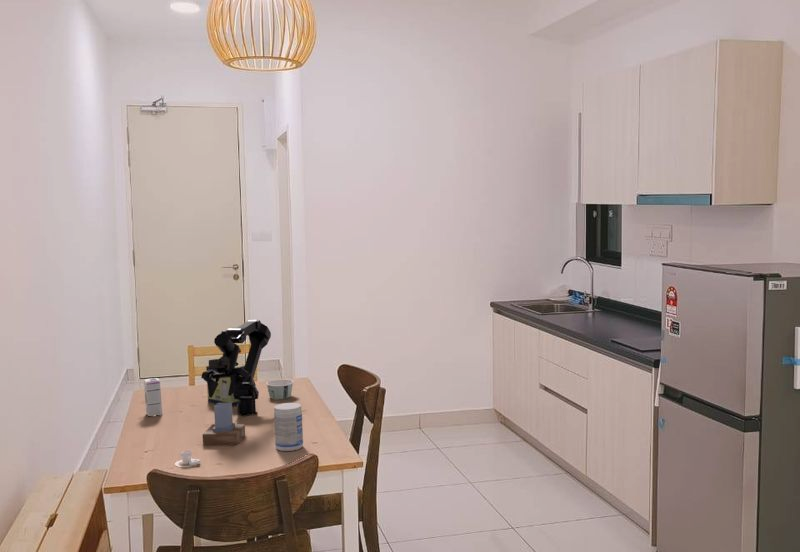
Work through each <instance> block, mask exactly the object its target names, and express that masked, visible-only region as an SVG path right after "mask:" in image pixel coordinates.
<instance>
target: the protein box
mask: <svg viewBox="0 0 800 552" xmlns="http://www.w3.org/2000/svg"><path fill="white" fill-rule="evenodd" d="M244 366H245V364H244V365H243V364H238V366H235V368H239V367H241V368H243V369H244ZM205 367H206V371H213V372H214V373H218V371H217V372H216V371H215V369H213V368H211V369H209V365H207V366H205ZM217 383H218V386H217V388H216V390H215V392H214V394H213V396H212V398H210V397H209V392H208V384H207V383H206V387H207V389H206V390H207V402H209V403H213V404H217V403H232V407H233V406H237V403H238V399H234V395H233V394H232V395H231V396H229V395H228V393H229V387H230V383H231V378H230V377H228V378H220V379H219V381H218V382H217Z"/></svg>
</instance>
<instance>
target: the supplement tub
mask: <svg viewBox="0 0 800 552" xmlns="http://www.w3.org/2000/svg"><path fill="white" fill-rule="evenodd" d="M273 417H274V418H273V422H274V437H275V438H274V442H275V444H274V447H275V448H276V450H278V451H281V452H292V451H297V450H300V449H302V447H303V446H304V437H303V436H304V432H303V409H302V404H300V403H297V402H283V403H279V404H278V403H277V404H276V405H274V407H273Z"/></svg>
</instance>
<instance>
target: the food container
mask: <svg viewBox="0 0 800 552" xmlns="http://www.w3.org/2000/svg"><path fill="white" fill-rule="evenodd" d="M293 384H294V380H292V379H286V378H285V379H283V378H282V379H281V378H280V379H279V378H278V379H273V380H269V381H267V382H266V383H265V385H266V386H267V392H268V395H269V396H268V397H269V399H270V398H272V399H271V400H274V399H282V400H285V399H284V398H288V397H290V396H292V391H293ZM290 398H291V397H290ZM288 399H289V398H288Z"/></svg>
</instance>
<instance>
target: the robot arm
mask: <svg viewBox="0 0 800 552" xmlns="http://www.w3.org/2000/svg"><path fill="white" fill-rule="evenodd" d="M247 336H248V340H249V341H250V342H249V343H250V345H249V346H250V347H249V349H248V350H249V351H248V353H247V357H246V359H245V363H244V365H245V366H244V369H243V368H241V367H239V368H235V366H238V365H239V362H238V358H239V353H241V352H242V349H241V348H240V346H239V345H238V344H243V343H244V342H245V341H246V340H247ZM271 336H272V333H271V330H270V328H269V327H268V326H267V325H265V324H264V323H262V322H261V320H259V319H248V320H247V321H246V322H244V323H242V324H241V325H239V326H238V327H229V328H227V329H226V330H222V331H221V332H220V333H219V334H218V335H216V337H214V341H213V342H214V344H215V346H216V347H217V348H218V349H219V351H220V352H221V353H222V356H220V357H219V358H216V359H215V358H214V359H208V366H209V369H211V368H213V369H215V371H216V372H217V371H218V373H214V372H213V371H203V372H202V373H201V378H200V379H203V381H205V382H206V385H207V384H208V392H209V397H210V398H212V396H213V394H214V392H215V390H216V388H217V386H218V383H217V382H218V381H219V379H220V378H228V377H230V378H231V383H230V387H229V393H228V395H229V396H231V395H232V394H233V395H234V399H238V403H237V405H236V413H237V414H238V415H240V416H242V417H245V416H250V415H257V414H258V411H256V400H258V399H259V390H258V389H257V387H256V386H257V385H256V381H255V375H256V371H257V367H258V364H259V360H260V357H261V354H262V350H263V349H264V348H265V347H266V346H267V345H268V344H269V342H270V340H271ZM208 392H207V393H208Z"/></svg>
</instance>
